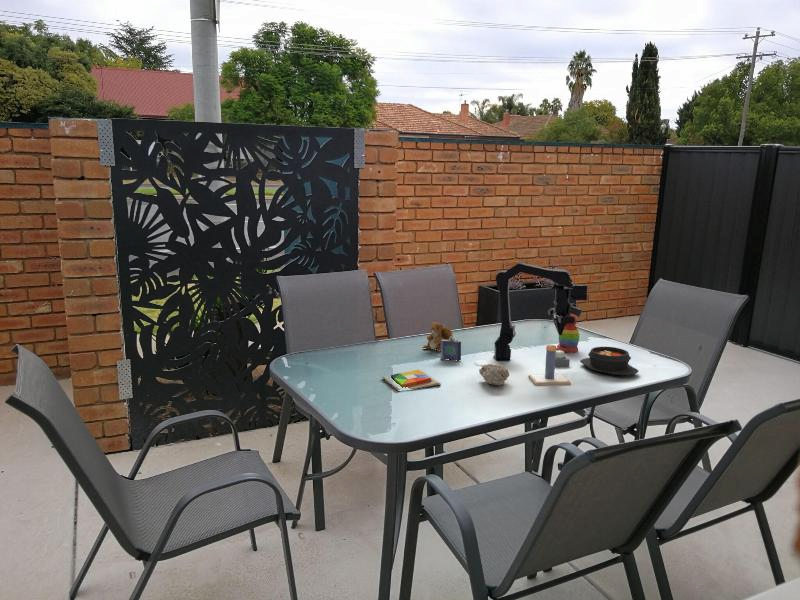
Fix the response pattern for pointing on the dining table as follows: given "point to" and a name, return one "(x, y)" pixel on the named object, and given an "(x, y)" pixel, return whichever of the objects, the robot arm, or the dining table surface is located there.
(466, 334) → the dining table surface
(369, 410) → the dining table surface
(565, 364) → the gray square hollow block
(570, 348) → the stacking bear
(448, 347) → the dark blue box
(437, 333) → the stuffed squirrel
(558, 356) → the button
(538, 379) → the sketch pad
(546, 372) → the toy microphone
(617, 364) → the casserole
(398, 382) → the wooden puzzle
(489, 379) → the pumice stone
